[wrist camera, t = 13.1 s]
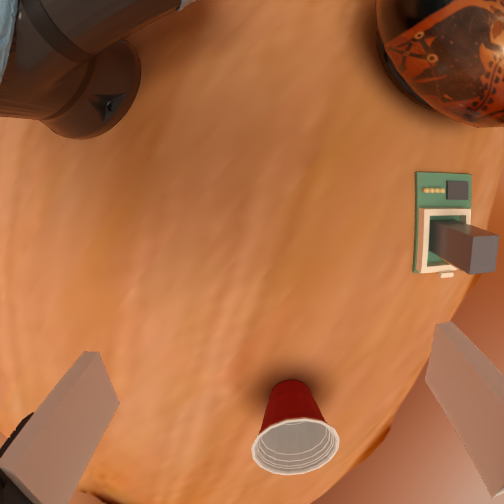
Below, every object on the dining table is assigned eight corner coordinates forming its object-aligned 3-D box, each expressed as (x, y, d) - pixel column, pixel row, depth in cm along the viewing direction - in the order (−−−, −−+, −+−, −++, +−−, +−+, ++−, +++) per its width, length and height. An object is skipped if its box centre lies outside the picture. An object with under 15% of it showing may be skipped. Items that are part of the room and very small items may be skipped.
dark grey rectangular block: (430, 219, 36) (473, 236, 26) (454, 219, 36) (499, 235, 26) (428, 256, 37) (468, 281, 28) (451, 254, 37) (493, 278, 27)
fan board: (415, 171, 35) (425, 172, 32) (468, 174, 35) (481, 175, 32) (412, 272, 38) (421, 280, 36) (464, 267, 38) (475, 274, 35)
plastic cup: (341, 380, 43) (358, 437, 32) (300, 425, 46) (306, 482, 34) (279, 352, 42) (282, 411, 31) (241, 402, 45) (235, 461, 33)
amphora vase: (486, 29, 28) (607, -23, 1) (483, 154, 34) (649, 170, 7) (360, -27, 28) (432, -159, 1) (344, 104, 34) (490, 1, 7)
